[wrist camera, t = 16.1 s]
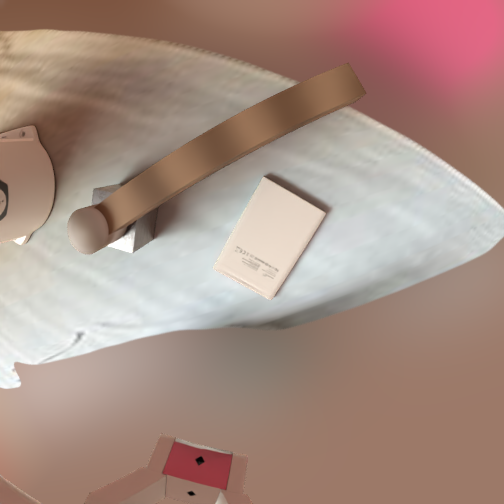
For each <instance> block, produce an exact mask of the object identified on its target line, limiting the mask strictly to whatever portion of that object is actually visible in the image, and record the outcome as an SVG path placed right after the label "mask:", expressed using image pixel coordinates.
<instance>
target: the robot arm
mask: <svg viewBox="0 0 504 504" xmlns="http://www.w3.org/2000/svg"><path fill="white" fill-rule="evenodd" d="M54 192H55V180H54V172H53V167H52V164H51V161H50V158H49V156H48V154H47V152H46V151H45V149H44V148H43V147H42V145H41V144H40V142H39V138H38V134H37V130H36V128H35V126H33V125H31V126H25V127H22V128H18V129H15V130H11V131H8V132H4V133H1V134H0V244H1V243H4V242H8V241H11V240H13V241H15V242H16V243H17V244H19V245H22V244H26V243H27V241H28V239H29V238H30V236H31V234H32V233H33V232H34V231H35V230H37V229H38V228H40V227H41V226H42V225H43V224H44V222H45V221H46V219H47V218H48V216H49V214H50V211H51V208H52V205H53V200H54ZM247 462H248V457H247V455H243V454H237V453H232V452H229V451H224V450H220V449H216V448H212V447H208V446H202V445H198V444H195V443H192V442H188V441H185V440H182V439H178V438H176V437H172V436H169V435H166V434H163V433H161V435H160V436H159V438H158V441H157V443H156V445H155V447H154V450H153V452H152V454H151V457H150V459H149V461H148V464H147V466H146V468H144V467H140V468H138V469H137V470H135V471H133V472H131V473H129V474H127V475H125V476H123V477H121V478H120V479H118V480H116V481H114V482H112V483H110V484H108V485H106V486H103V487H101V488H99V489H97V490H95V491H93V492H91V493H89V495H88V497H87V499H86V501H85V503H84V504H157V503H159V502H160V501H162V500H163V499H164V498H165V497H168V498H171V499H174V500H178V501H182V502H186V503H190V504H253V503H252V501H251V500H250V498H249V496H248V495H247V494H243V492H244V484H245V476H246V470H247ZM0 504H42V503H40V502H39V501H37V500H35V499H34V498H32V497H31V496H29V495H28V494H26V493H25V492H23V491H22V490H20V489H19V488H18V487H16V486H15V485H13V484H12V483H11V482H9V481H8V480H6V479H5V478H4V477H2V476H1V475H0Z"/></svg>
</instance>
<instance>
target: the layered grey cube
mask: <svg viewBox="0 0 504 504" xmlns="http://www.w3.org/2000/svg"><path fill="white" fill-rule="evenodd" d="M122 186H124V185H121V184H117V185H111V186H106V187H100V188H95V189H94V190H93V198H92V205H95V204H99V203H101V202H102V201H103V200H105V199H106V198H107V197H109V196H110V195H111V194H113V193H114V192H115V191H117V190H118V189H119V188H121V187H122ZM157 211H158V207H156V208H155V209H153V210H152V211H150V212H148V213H147V214H145V215H144V216H142V217H141V218H139V219H138V220H136V221H134V222H133V223H131V224H130V225H128V226H127V229H126V232H125V234H124V235H123V237H122V238H120V239H119V240H117V241H115V242H113V243H111V244H110V245H108V246H110V247H113V248H117V249H120V250H124V251H127V252H131V253H134V252H135V251H137V250H138V249H140V248H141V247H143V246H144V245H146V244H147V243H149V242H150V241H152V240H153V238H154V231H155V224H156V218H157Z"/></svg>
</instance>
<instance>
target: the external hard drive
mask: <svg viewBox="0 0 504 504" xmlns="http://www.w3.org/2000/svg"><path fill="white" fill-rule="evenodd" d="M325 215H326V212H325V211H323V210H321V209H320V208H318V207H316V206H315V205H313V204H311V203H310V202H308V201H306V200H305V199H303V198H301V197H299V196H298V195H296V194H294V193H293V192H291V191H289V190H287V189H286V188H284V187H282V186H280V185H279V184H277V183H275V182H273V181H272V180H270V179H268V178H266V177H265V176H263V178H262V180H261V181H260V183H259V185H258V187H257V189H256V190H255V192H254V194H253V196H252V197H251V199H250V201H249V203H248V204H247V206H246V208H245V210H244V212H243V213H242V215H241V217H240V219H239V221H238V223H237V224H236V226H235V228H234V230H233V232H232V233H231V235H230V237H229V239H228V241H227V243H226V244H225V246H224V248H223V250H222V252H221V254H220V256H219V257H218V259H217V261H216V263H215V265H214V267H213V269H214V270H216V271H218V272H219V273H221V274H223V275H225V276H227V277H229V278H231V279H232V280H234V281H236V282H238V283H240V284H241V285H243V286H245V287H247V288H249V289H251V290H252V291H254V292H256V293H258V294H260V295H262V296H263V297H265V298H267V299H270V300H272V299H273V297H274V295H275V294H276V292H277V291H278V289H279V288H280V286H281V285H282V283H283V282H284V280H285V279H286V277H287V276H288V274H289V272H290V271H291V269H292V268H293V266H294V265H295V263H296V261H297V260H298V258H299V257H300V255H301V254H302V252H303V250H304V249H305V247H306V246H307V244H308V242H309V241H310V239H311V238H312V236H313V234H314V233H315V231H316V229H317V228H318V226H319V225H320V223H321V221H322V220H323V218H324V216H325Z"/></svg>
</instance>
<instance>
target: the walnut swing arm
mask: <svg viewBox="0 0 504 504" xmlns="http://www.w3.org/2000/svg"><path fill="white" fill-rule="evenodd" d="M365 94H366V92H365V90H364V88H363V87H362V85H361V83H360V82H359V80H358V78H357V76H356V75H355V73H354V71H353V70H352V68H351V66H350V65H349V63H346V64H344V65H341V66H339V67H336V68H334V69H331V70H329V71H327V72H324V73H322V74H319V75H317V76H315V77H313V78H310V79H308V80H306V81H304V82H301V83H299V84H297V85H295V86H293V87H290V88H288V89H286V90H284V91H282V92H280V93H278V94H276V95H274V96H272V97H270V98H268V99H266V100H264V101H262V102H260V103H258V104H256V105H254V106H252V107H250V108H248V109H246V110H244V111H242V112H241V113H239V114H237V115H235V116H233V117H231V118H230V119H228V120H226V121H224V122H222V123H221V124H219V125H217V126H215V127H214V128H212V129H210V130H208V131H207V132H205V133H203V134H202V135H200V136H198V137H197V138H195V139H193V140H192V141H190V142H188V143H187V144H185V145H183V146H182V147H180V148H179V149H177V150H176V151H174V152H172V153H171V154H169V155H168V156H166V157H165V158H163V159H162V160H160V161H158V162H157V163H155V164H154V165H152V166H151V167H149V168H148V169H147V170H145V171H144V172H142V173H141V174H139V175H138V176H136V177H135V178H133V179H132V180H131V181H129V182H128V183H126V184H125V185H124V186H122V187H121V188H119V189H118V190H117V191H115V192H114V193H113V194H111V195H110V196H109V197H107V198H106V199H105V200H103V201H102V202H101V203H99V204H95V205H92V206H88V207H85V208H81V209H78V210H76V211H75V212H73V213H72V215H71V216H70V218H69V221H68V226H67V231H68V236H69V239H70V242H71V243H72V245H73V246H74V248H75V249H76V250H78V251H79V252H81V253H83V254H93V253H95V252H97V251H98V250H100V249H102V248H104V247H106V246H108V245H110V244H111V243H113V242H115V241H117V240H119V239H120V238H122V237H123V235H124V234H125V232H126V229H127V226H128V225H130V224H131V223H133V222H134V221H136V220H138V219H139V218H141V217H142V216H144V215H145V214H147V213H148V212H150V211H152V210H153V209H155V208H156V207H158V206H159V205H161V204H163V203H164V202H166V201H167V200H169V199H171V198H172V197H174V196H176V195H177V194H179V193H181V192H182V191H184V190H186V189H187V188H189V187H191V186H192V185H194V184H196V183H197V182H199V181H201V180H202V179H204V178H206V177H208V176H209V175H211V174H213V173H215V172H216V171H218V170H220V169H222V168H224V167H225V166H227V165H229V164H231V163H233V162H234V161H236V160H238V159H240V158H242V157H243V156H245V155H247V154H249V153H251V152H253V151H255V150H257V149H258V148H260V147H262V146H264V145H266V144H268V143H270V142H272V141H274V140H276V139H278V138H280V137H282V136H284V135H286V134H288V133H290V132H292V131H294V130H296V129H298V128H300V127H302V126H304V125H306V124H308V123H310V122H312V121H315V120H317V119H319V118H321V117H323V116H325V115H327V114H330V113H332V112H334V111H336V110H339V109H341V108H343V107H345V106H348V105H350V104H352V103H354V102H356V101H357V100H359V99H360V98H361V97H362V96H363V95H365Z"/></svg>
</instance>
